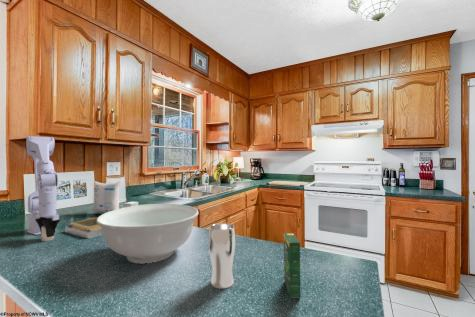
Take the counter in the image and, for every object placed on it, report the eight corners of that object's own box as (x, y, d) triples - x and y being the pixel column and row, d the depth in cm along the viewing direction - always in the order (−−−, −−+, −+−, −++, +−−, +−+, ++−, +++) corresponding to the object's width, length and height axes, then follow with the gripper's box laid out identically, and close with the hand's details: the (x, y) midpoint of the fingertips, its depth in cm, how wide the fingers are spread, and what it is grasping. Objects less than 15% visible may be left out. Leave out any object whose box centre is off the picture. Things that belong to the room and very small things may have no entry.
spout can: (39, 240, 98) (39, 223, 98) (51, 237, 101) (51, 221, 101) (44, 241, 96) (44, 225, 96) (55, 238, 99) (55, 222, 99)
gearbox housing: (65, 232, 108) (65, 223, 108) (98, 224, 121) (98, 216, 121) (87, 238, 99) (87, 229, 99) (120, 229, 112) (120, 220, 112)
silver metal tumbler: (209, 276, 67) (209, 223, 67) (234, 275, 67) (234, 222, 67) (208, 290, 60) (208, 230, 60) (236, 289, 60) (235, 230, 60)
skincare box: (131, 229, 112) (130, 203, 112) (123, 228, 113) (122, 203, 113) (138, 225, 118) (138, 201, 118) (131, 225, 119) (131, 201, 119)
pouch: (112, 217, 135) (112, 182, 135) (88, 214, 142) (88, 181, 142) (124, 214, 142) (123, 180, 142) (100, 212, 149) (100, 180, 149)
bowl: (174, 282, 64) (173, 227, 64) (70, 272, 70) (70, 222, 70) (209, 241, 96) (209, 204, 96) (136, 236, 102) (136, 202, 101)
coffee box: (283, 280, 64) (283, 232, 64) (294, 280, 64) (293, 232, 64) (288, 298, 56) (288, 242, 56) (301, 298, 56) (300, 242, 56)
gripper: (27, 202, 99) (27, 235, 99) (44, 206, 92) (44, 241, 92) (47, 200, 105) (48, 231, 105) (64, 203, 98) (65, 236, 98)
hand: (47, 235), depth 99 cm, fingers closed on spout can, 4 cm apart
